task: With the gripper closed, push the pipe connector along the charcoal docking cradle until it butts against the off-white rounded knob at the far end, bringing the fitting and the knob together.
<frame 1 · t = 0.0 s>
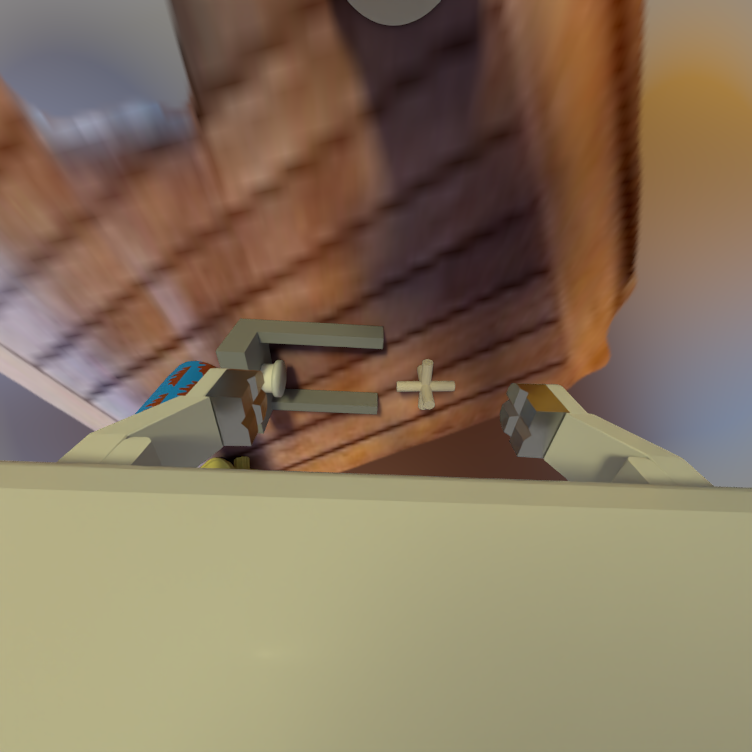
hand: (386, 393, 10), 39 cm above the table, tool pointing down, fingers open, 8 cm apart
rounded knob: (269, 361, 57), resting on docking cradle
pipe connector: (421, 368, 58), on the table
thermos: (204, 382, 60), on the table
docking cradle: (336, 364, 57), on the table
plastic component: (234, 468, 77), on the table
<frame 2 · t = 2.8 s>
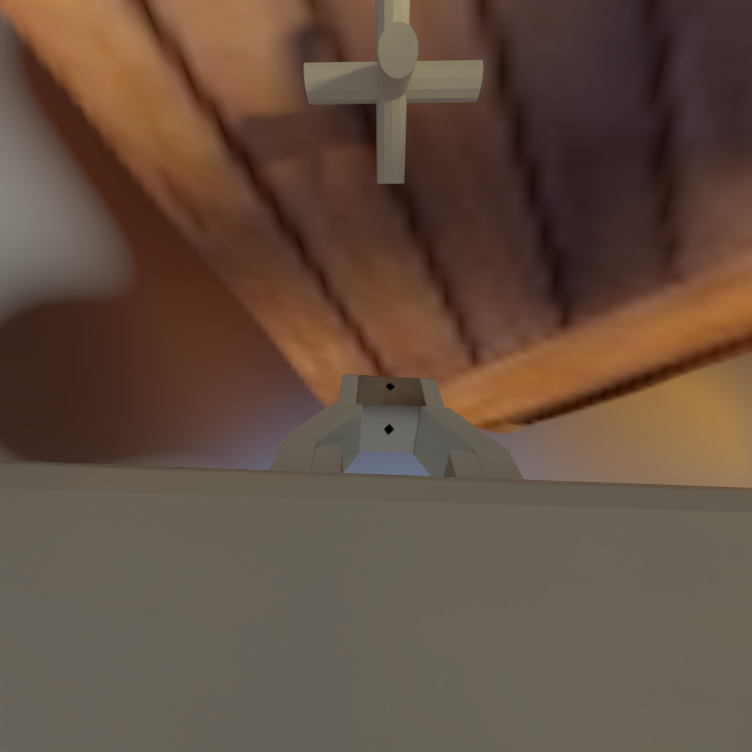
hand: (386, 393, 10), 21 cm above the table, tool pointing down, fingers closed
pipe connector: (388, 103, 22), on the table
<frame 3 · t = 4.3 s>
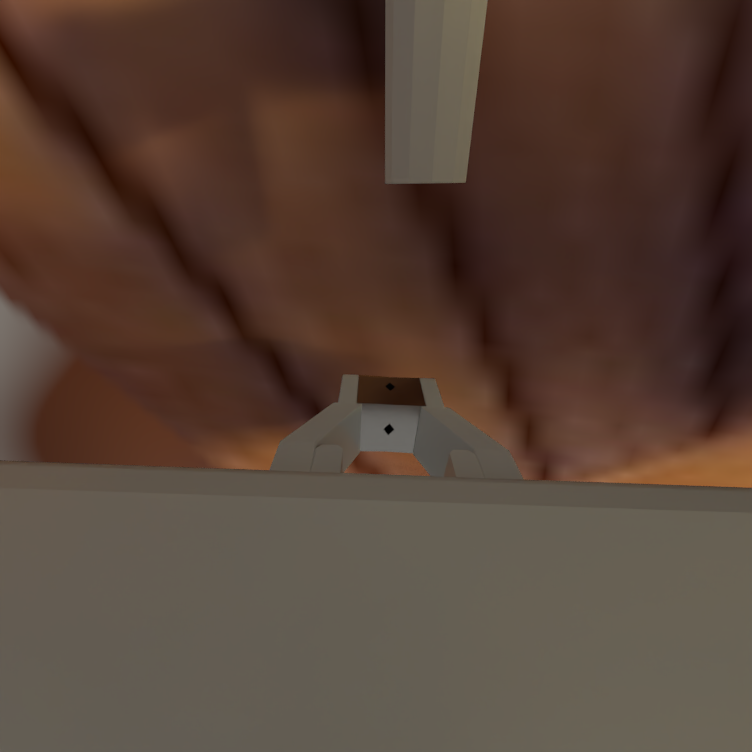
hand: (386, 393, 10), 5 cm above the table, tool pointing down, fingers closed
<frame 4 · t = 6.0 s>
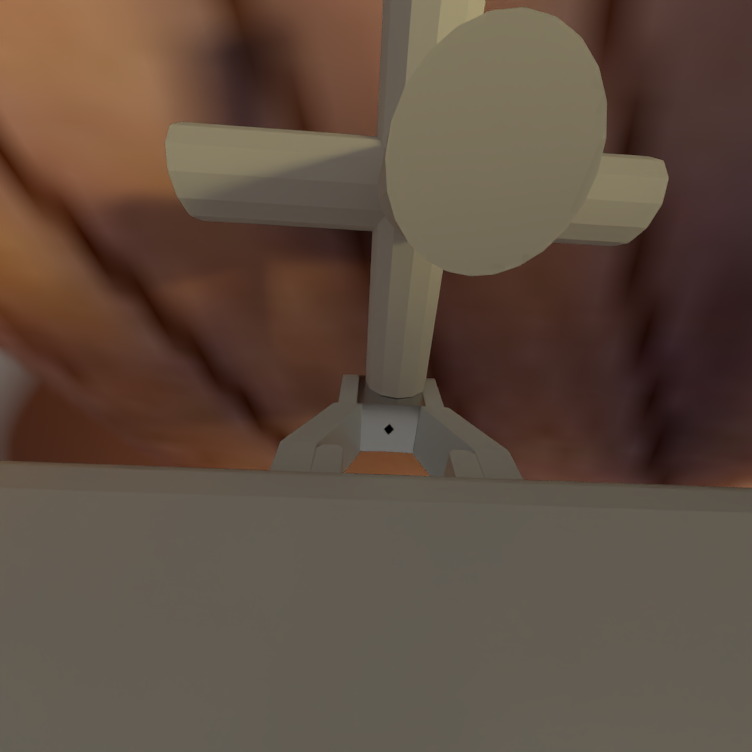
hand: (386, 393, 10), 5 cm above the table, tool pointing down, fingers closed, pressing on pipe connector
pipe connector: (399, 195, 11), on the table, touching gripper
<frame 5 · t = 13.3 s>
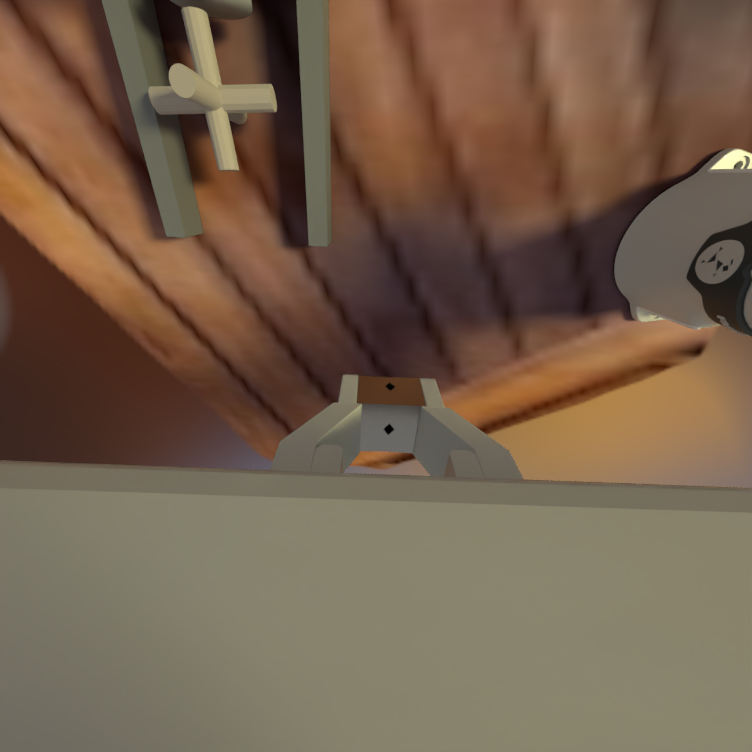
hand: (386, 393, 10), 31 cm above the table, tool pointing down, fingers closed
pipe connector: (238, 113, 30), resting in docking cradle
docking cradle: (248, 153, 32), on the table
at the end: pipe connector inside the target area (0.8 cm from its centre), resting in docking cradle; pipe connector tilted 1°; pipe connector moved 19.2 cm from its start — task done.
